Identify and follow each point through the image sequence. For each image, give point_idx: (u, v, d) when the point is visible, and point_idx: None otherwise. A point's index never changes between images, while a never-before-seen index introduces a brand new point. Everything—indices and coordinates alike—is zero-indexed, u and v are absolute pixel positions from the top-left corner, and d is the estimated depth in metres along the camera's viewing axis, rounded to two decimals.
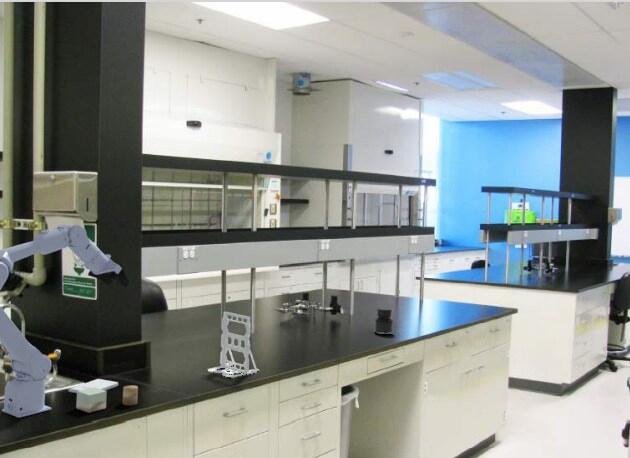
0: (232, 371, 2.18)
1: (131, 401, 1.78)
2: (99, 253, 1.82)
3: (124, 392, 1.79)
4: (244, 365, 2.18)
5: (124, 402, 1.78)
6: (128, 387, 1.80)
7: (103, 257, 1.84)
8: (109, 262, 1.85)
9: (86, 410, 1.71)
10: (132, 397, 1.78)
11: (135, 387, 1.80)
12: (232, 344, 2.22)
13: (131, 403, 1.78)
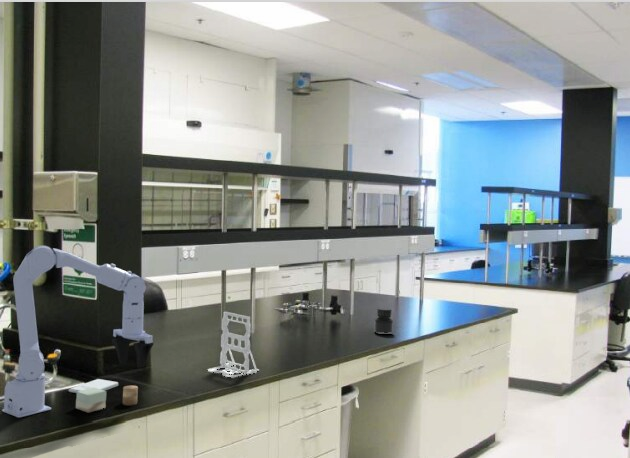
0: (232, 371, 2.18)
1: (131, 401, 1.78)
2: (142, 318, 1.79)
3: (124, 392, 1.79)
4: (244, 365, 2.18)
5: (124, 402, 1.78)
6: (128, 387, 1.80)
7: (142, 325, 1.79)
8: (143, 334, 1.80)
9: (85, 410, 1.71)
10: (132, 397, 1.78)
11: (135, 387, 1.80)
12: (232, 344, 2.22)
13: (131, 403, 1.78)
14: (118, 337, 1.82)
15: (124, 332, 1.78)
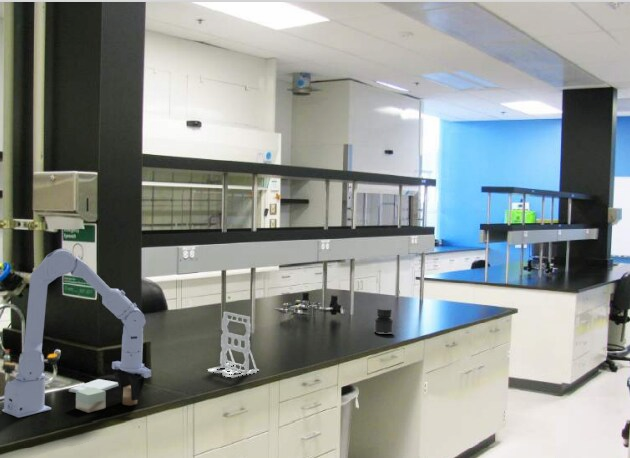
0: (232, 371, 2.18)
1: (131, 401, 1.78)
2: (141, 352, 1.79)
3: (124, 392, 1.79)
4: (244, 365, 2.18)
5: (124, 402, 1.78)
6: (128, 387, 1.80)
7: (141, 358, 1.79)
8: (141, 367, 1.79)
9: (85, 410, 1.71)
10: None
11: None
12: (232, 344, 2.22)
13: (131, 403, 1.78)
14: None
15: (123, 365, 1.78)
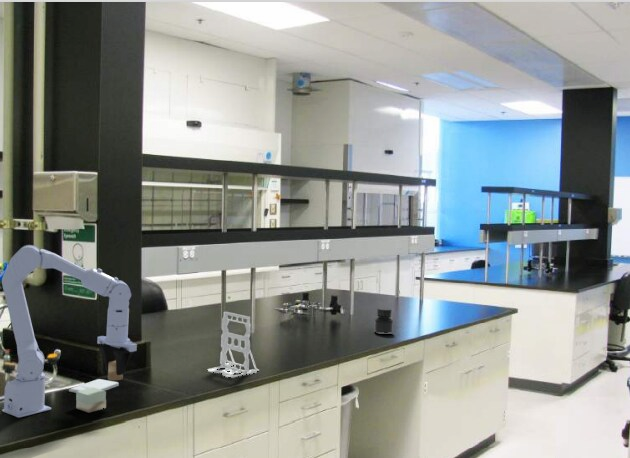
0: (232, 371, 2.18)
1: (117, 376, 1.76)
2: (127, 326, 1.77)
3: (109, 367, 1.76)
4: (244, 365, 2.18)
5: (109, 377, 1.76)
6: (113, 362, 1.77)
7: (126, 333, 1.77)
8: (127, 342, 1.77)
9: (86, 410, 1.71)
10: None
11: None
12: (232, 344, 2.22)
13: (116, 378, 1.76)
14: None
15: (108, 339, 1.75)
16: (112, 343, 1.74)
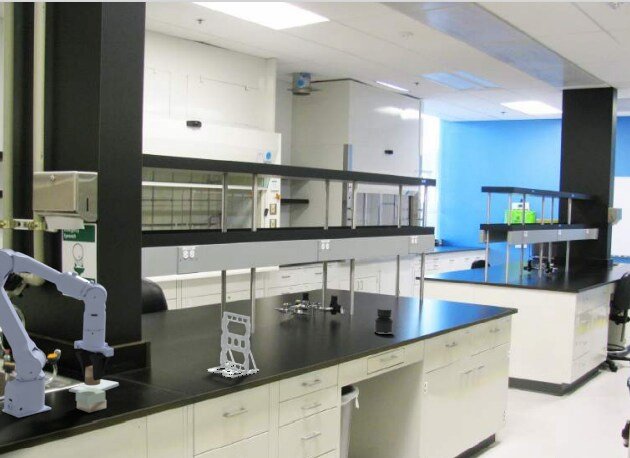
0: (232, 371, 2.18)
1: (94, 381, 1.72)
2: (103, 330, 1.73)
3: (86, 372, 1.73)
4: (244, 365, 2.18)
5: (86, 382, 1.72)
6: (91, 367, 1.74)
7: (103, 337, 1.73)
8: (104, 346, 1.73)
9: (86, 410, 1.71)
10: None
11: None
12: (232, 344, 2.22)
13: (93, 383, 1.72)
14: None
15: (84, 344, 1.71)
16: (88, 348, 1.71)
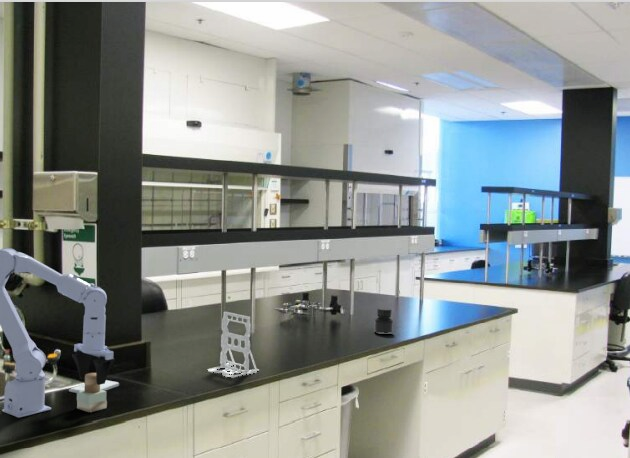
0: (232, 371, 2.18)
1: (93, 389, 1.72)
2: (103, 333, 1.73)
3: (85, 380, 1.73)
4: (244, 365, 2.18)
5: (86, 390, 1.73)
6: (90, 374, 1.74)
7: (103, 340, 1.73)
8: (104, 349, 1.73)
9: (87, 410, 1.71)
10: (94, 385, 1.72)
11: None
12: (232, 344, 2.22)
13: (93, 391, 1.72)
14: (79, 352, 1.76)
15: (84, 347, 1.71)
16: (88, 351, 1.71)
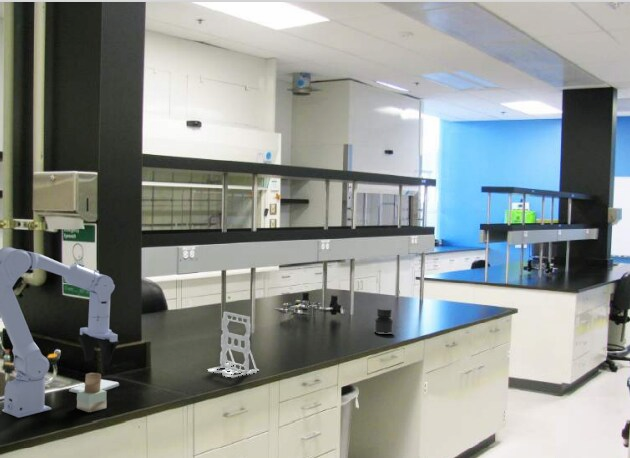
0: (232, 371, 2.18)
1: (93, 389, 1.72)
2: (108, 317, 1.81)
3: (86, 379, 1.73)
4: (244, 365, 2.18)
5: (86, 389, 1.72)
6: (91, 374, 1.74)
7: (108, 324, 1.81)
8: (108, 332, 1.81)
9: (86, 410, 1.71)
10: (94, 385, 1.72)
11: (98, 374, 1.74)
12: (232, 344, 2.22)
13: (93, 391, 1.72)
14: (84, 335, 1.84)
15: (90, 330, 1.80)
16: (93, 334, 1.79)
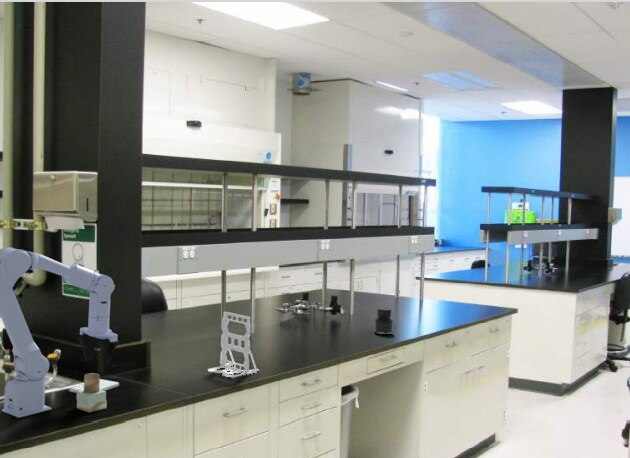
0: (232, 371, 2.18)
1: (93, 389, 1.72)
2: (108, 317, 1.81)
3: (85, 380, 1.73)
4: (244, 365, 2.18)
5: (85, 390, 1.72)
6: (89, 375, 1.74)
7: (108, 324, 1.81)
8: (108, 332, 1.81)
9: (86, 410, 1.71)
10: (93, 385, 1.72)
11: (97, 374, 1.74)
12: (232, 344, 2.22)
13: (92, 391, 1.72)
14: (84, 335, 1.84)
15: (90, 330, 1.80)
16: (93, 334, 1.79)
